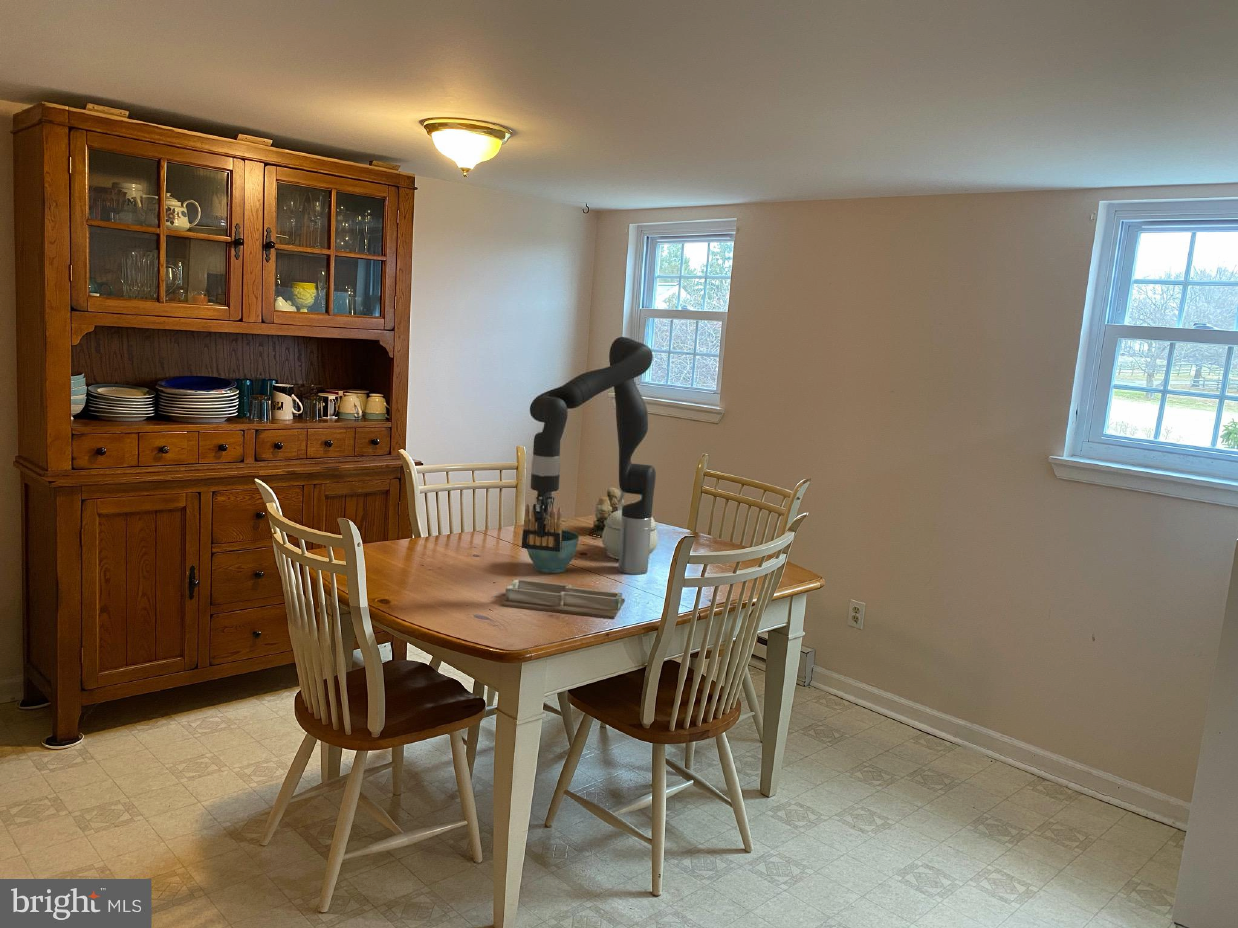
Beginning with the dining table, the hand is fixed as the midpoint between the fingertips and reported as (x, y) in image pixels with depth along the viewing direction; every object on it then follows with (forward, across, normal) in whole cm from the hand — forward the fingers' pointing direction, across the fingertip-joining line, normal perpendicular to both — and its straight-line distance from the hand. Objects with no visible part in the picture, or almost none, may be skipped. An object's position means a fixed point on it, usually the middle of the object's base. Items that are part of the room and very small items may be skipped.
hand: (542, 535), depth 245 cm
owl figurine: (+18, -89, +2) cm, 91 cm away
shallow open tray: (+18, 0, +7) cm, 19 cm away
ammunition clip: (+4, 0, 0) cm, 4 cm away
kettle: (+18, -60, +14) cm, 64 cm away
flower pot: (+18, -32, -5) cm, 37 cm away
